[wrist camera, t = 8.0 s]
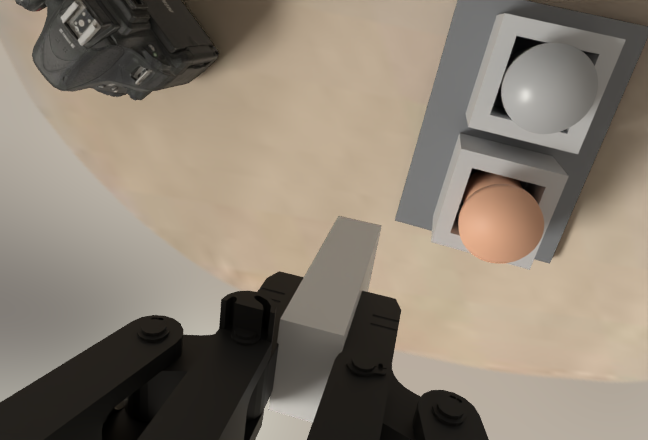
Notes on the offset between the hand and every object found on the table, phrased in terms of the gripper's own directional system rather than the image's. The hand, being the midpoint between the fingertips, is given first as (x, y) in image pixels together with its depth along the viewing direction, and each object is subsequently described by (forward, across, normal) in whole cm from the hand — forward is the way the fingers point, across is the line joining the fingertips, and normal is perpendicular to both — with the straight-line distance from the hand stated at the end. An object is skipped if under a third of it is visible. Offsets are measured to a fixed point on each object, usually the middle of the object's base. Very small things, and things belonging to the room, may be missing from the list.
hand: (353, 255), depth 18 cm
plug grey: (+21, +7, +5) cm, 23 cm away
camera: (+23, -21, +4) cm, 31 cm away
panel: (+23, +7, +1) cm, 24 cm away
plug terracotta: (+20, +7, -3) cm, 21 cm away
